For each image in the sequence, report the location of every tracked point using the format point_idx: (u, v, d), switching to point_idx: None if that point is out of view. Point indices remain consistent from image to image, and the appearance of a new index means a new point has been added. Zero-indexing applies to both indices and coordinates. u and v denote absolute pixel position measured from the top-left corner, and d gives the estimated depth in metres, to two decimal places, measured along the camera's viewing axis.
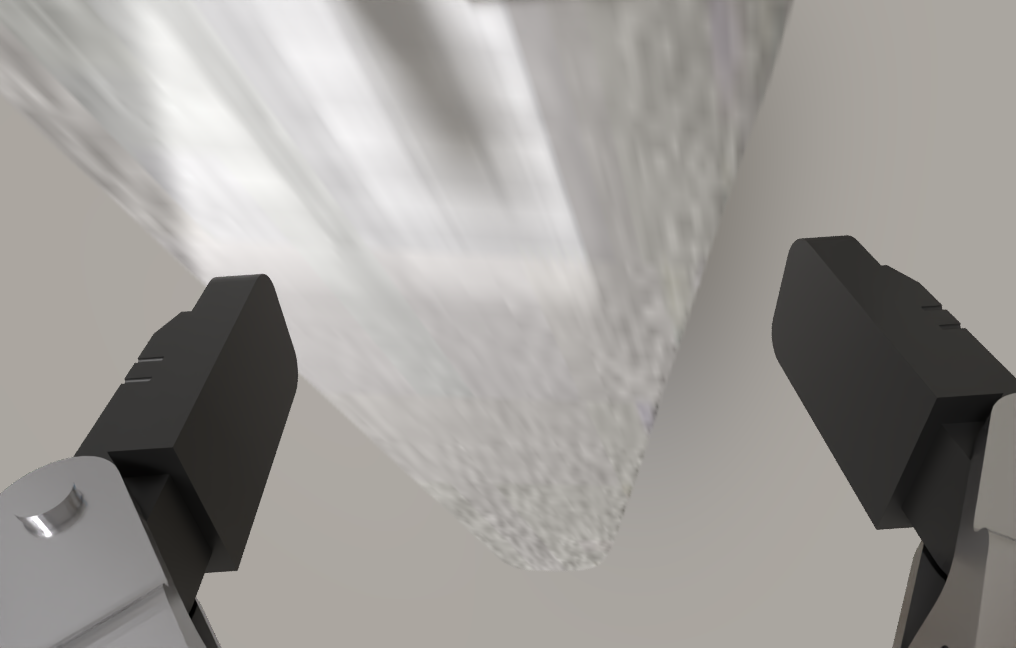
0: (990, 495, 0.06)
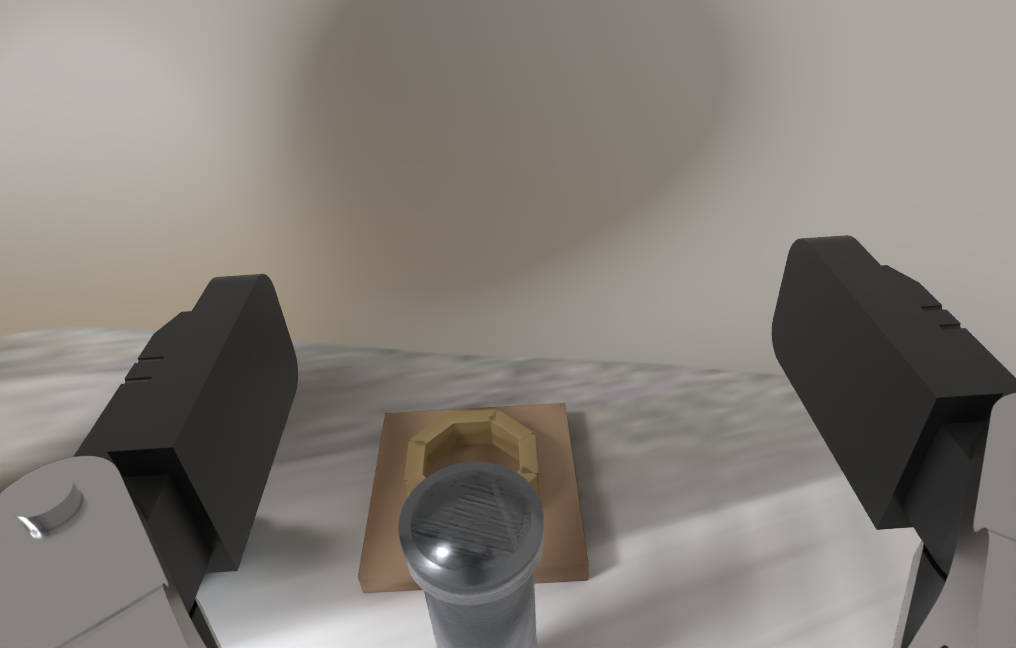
0: (990, 495, 0.06)
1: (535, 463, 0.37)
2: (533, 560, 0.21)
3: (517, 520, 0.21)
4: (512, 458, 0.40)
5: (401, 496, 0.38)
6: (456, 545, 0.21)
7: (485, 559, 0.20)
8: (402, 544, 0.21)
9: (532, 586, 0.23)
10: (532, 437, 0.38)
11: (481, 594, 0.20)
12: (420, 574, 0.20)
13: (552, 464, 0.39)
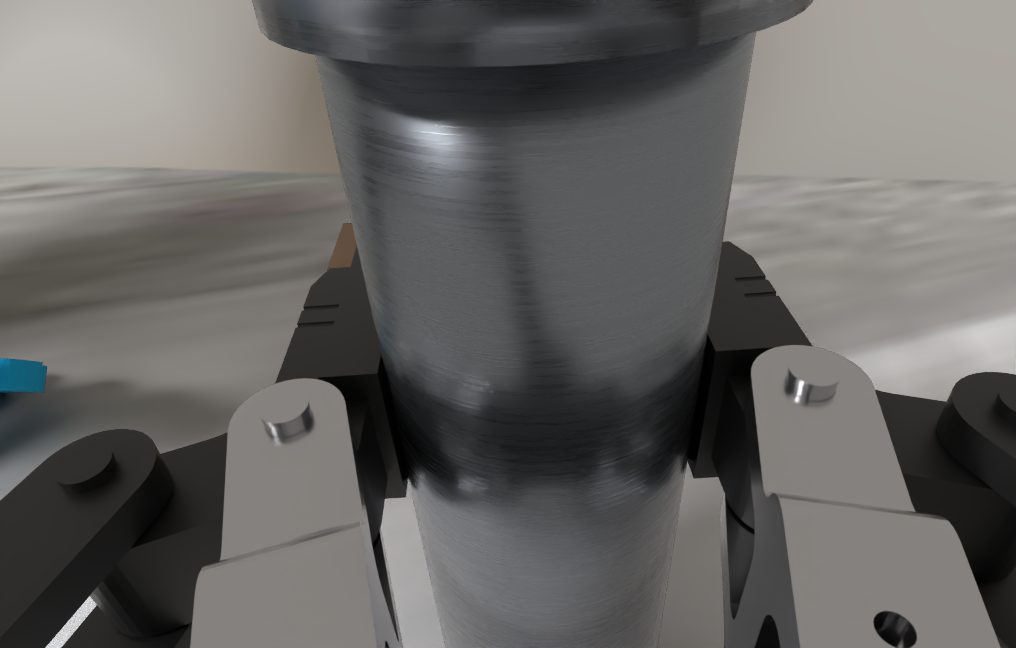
0: (770, 455, 0.06)
1: None
2: None
3: None
4: None
5: None
6: None
7: None
8: None
9: (724, 222, 0.07)
10: None
11: None
12: None
13: None
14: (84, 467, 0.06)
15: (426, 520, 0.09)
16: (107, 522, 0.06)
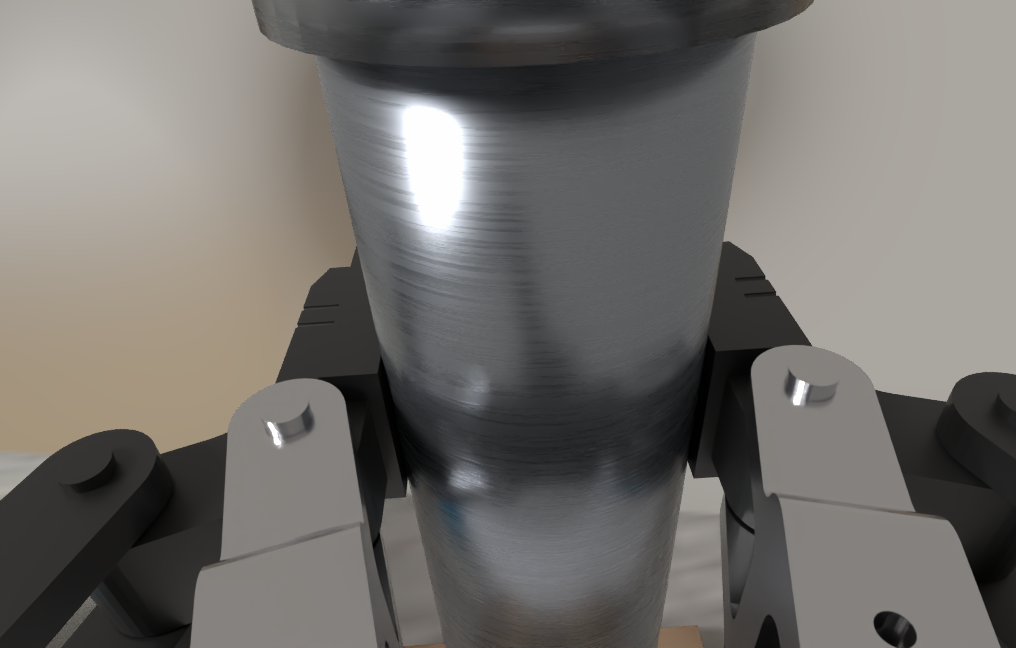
0: (769, 455, 0.06)
1: None
2: None
3: None
4: None
5: None
6: None
7: None
8: None
9: None
10: None
11: None
12: None
13: None
14: (84, 468, 0.06)
15: (426, 520, 0.09)
16: (107, 522, 0.06)
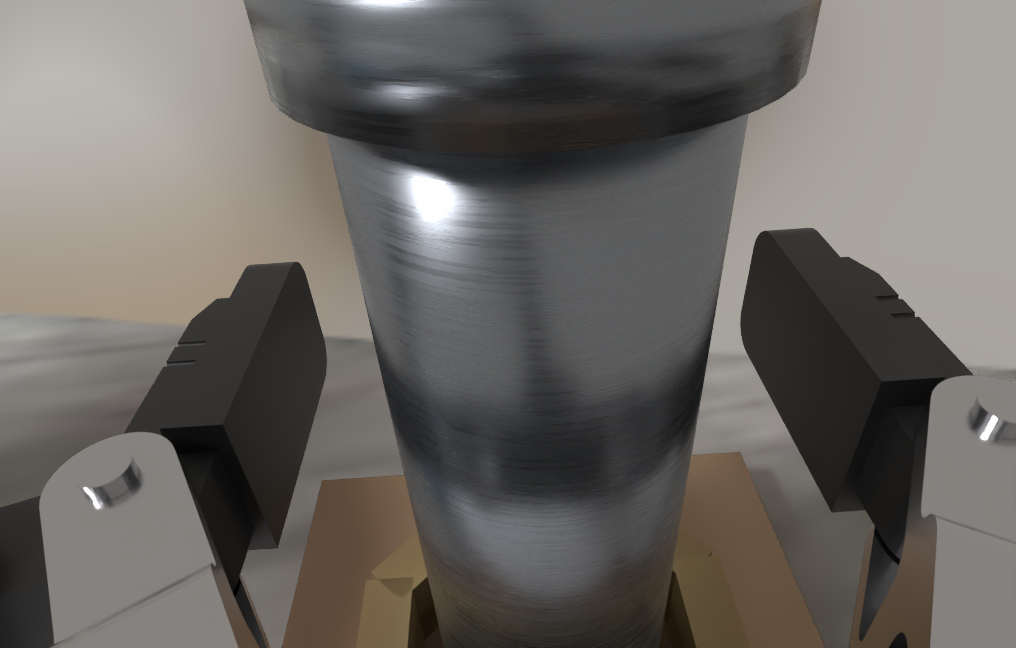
0: (935, 480, 0.06)
1: None
2: None
3: None
4: None
5: None
6: None
7: None
8: None
9: None
10: (716, 567, 0.14)
11: (608, 57, 0.04)
12: None
13: (760, 634, 0.14)
14: None
15: (429, 550, 0.09)
16: None
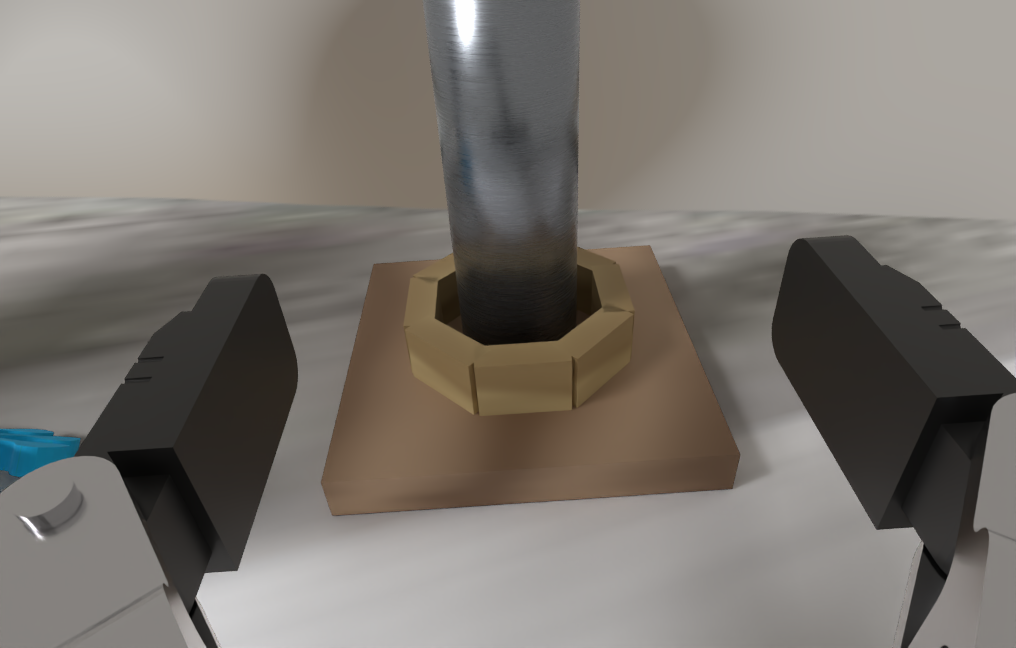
0: (990, 495, 0.06)
1: (626, 298, 0.22)
2: None
3: None
4: (578, 311, 0.25)
5: (399, 364, 0.23)
6: None
7: None
8: None
9: (578, 22, 0.17)
10: (616, 268, 0.23)
11: None
12: None
13: (646, 318, 0.24)
14: None
15: (453, 182, 0.18)
16: None
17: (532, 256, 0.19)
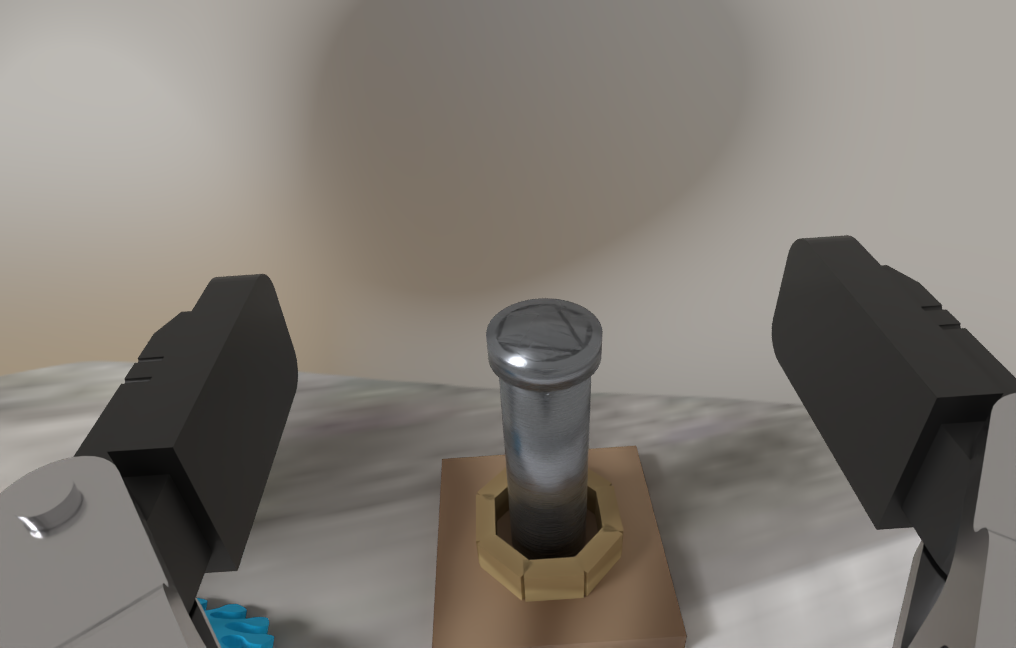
0: (990, 495, 0.06)
1: (618, 519, 0.34)
2: (595, 359, 0.26)
3: (581, 332, 0.27)
4: None
5: (470, 556, 0.35)
6: (535, 347, 0.26)
7: (559, 354, 0.26)
8: (491, 347, 0.26)
9: None
10: (612, 489, 0.35)
11: (557, 380, 0.26)
12: (508, 366, 0.26)
13: (632, 517, 0.36)
14: None
15: (512, 471, 0.30)
16: None
17: (560, 511, 0.31)
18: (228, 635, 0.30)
